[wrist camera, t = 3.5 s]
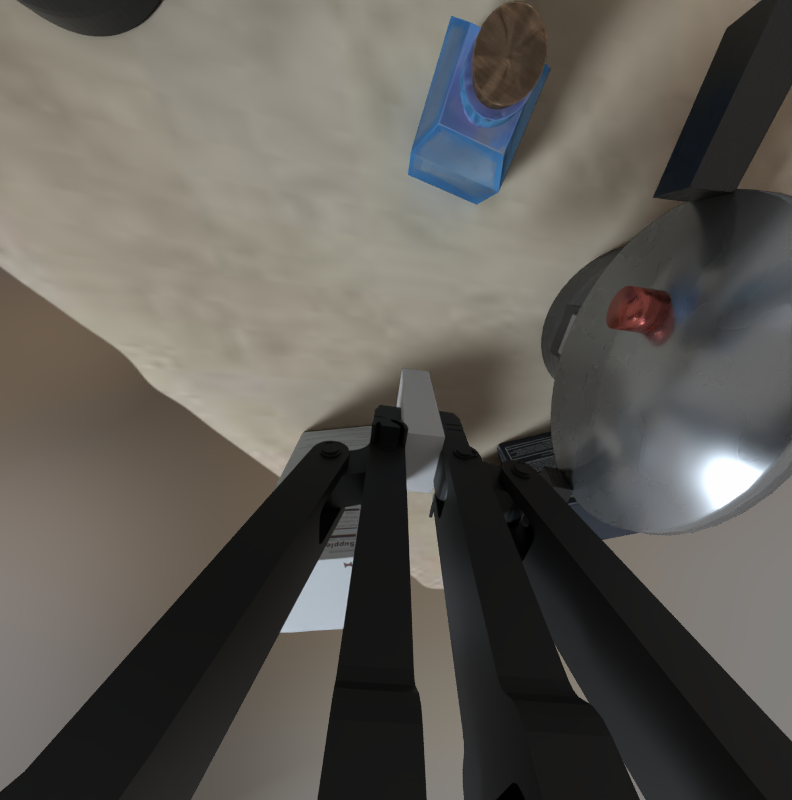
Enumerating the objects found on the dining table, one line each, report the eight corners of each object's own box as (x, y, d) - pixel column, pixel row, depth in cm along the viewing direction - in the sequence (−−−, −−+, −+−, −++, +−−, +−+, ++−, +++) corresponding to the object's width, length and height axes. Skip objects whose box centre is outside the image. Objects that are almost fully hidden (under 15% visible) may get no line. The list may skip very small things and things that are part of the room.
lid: (662, 119, 17) (619, 114, 17) (1803, -601, 3) (1484, -586, 3) (532, 439, 27) (506, 434, 28) (631, 645, 13) (574, 632, 13)
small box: (503, 483, 39) (536, 556, 30) (495, 443, 36) (529, 511, 27) (587, 464, 37) (650, 535, 28) (586, 421, 35) (655, 485, 25)
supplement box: (301, 430, 35) (229, 563, 20) (377, 422, 35) (361, 553, 20) (319, 490, 40) (272, 637, 25) (388, 484, 39) (381, 631, 24)
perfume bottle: (513, 112, 23) (617, -12, 12) (476, 204, 25) (534, 171, 14) (437, 75, 22) (476, -96, 11) (407, 174, 24) (415, 115, 14)
